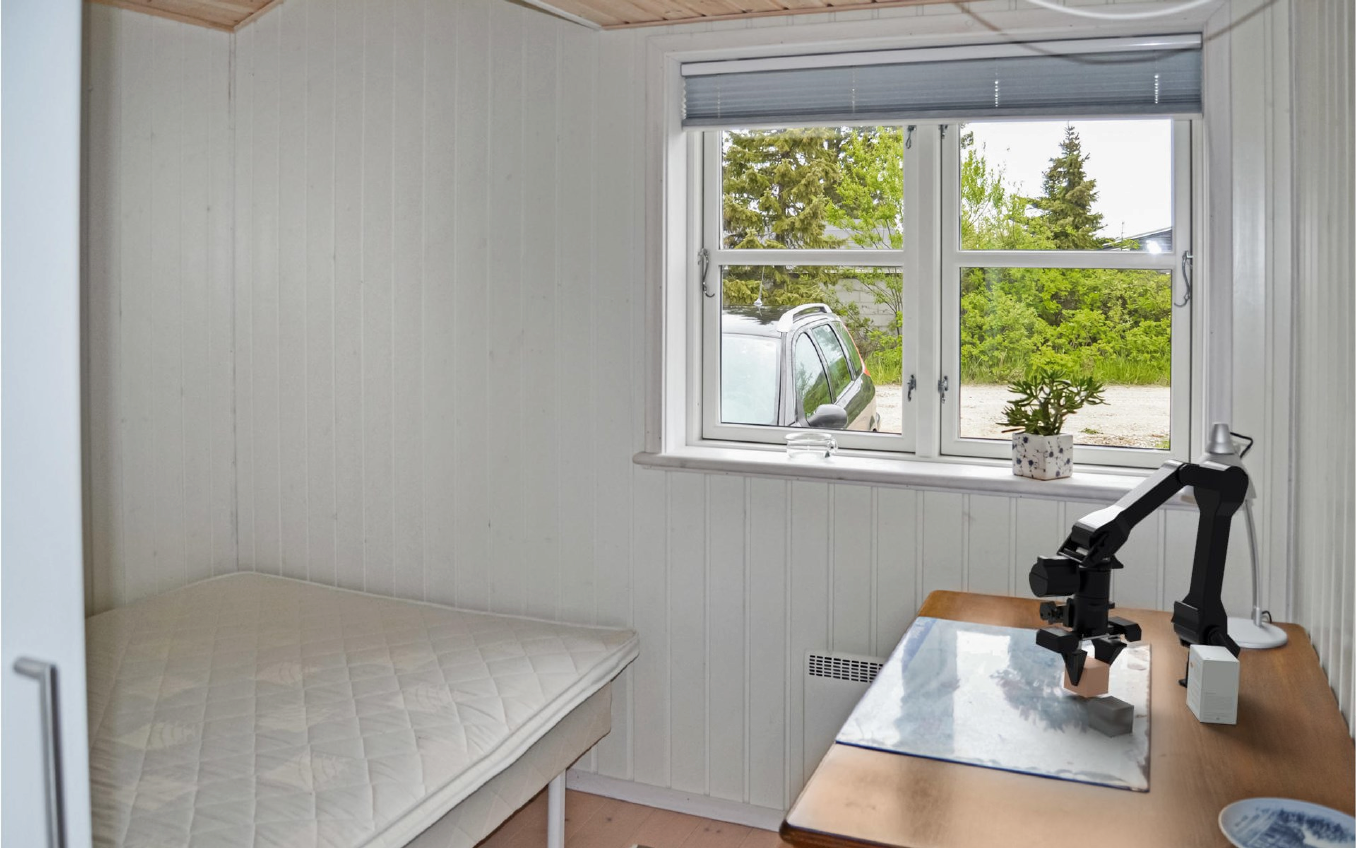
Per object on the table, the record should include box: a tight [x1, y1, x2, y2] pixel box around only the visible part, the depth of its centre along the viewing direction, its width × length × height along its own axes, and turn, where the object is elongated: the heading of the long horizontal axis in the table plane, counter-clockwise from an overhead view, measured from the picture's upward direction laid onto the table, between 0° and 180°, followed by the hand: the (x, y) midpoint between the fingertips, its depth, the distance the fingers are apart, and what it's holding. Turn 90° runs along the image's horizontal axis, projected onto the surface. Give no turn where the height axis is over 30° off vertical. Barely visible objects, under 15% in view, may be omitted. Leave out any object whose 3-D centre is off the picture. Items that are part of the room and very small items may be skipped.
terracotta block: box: [1063, 655, 1111, 699], centre depth 181 cm, size 5×5×5 cm
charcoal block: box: [1088, 695, 1135, 738], centre depth 167 cm, size 4×4×4 cm
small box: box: [1185, 645, 1241, 725], centre depth 173 cm, size 8×6×10 cm
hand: (1086, 683), depth 181 cm, fingers closed on terracotta block, 5 cm apart
